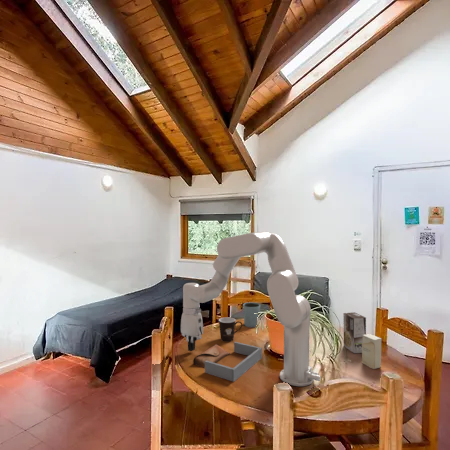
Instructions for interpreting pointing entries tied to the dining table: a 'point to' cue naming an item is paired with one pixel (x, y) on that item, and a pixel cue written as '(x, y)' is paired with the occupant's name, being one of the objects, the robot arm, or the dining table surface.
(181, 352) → the dining table surface
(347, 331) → the coffee box
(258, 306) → the blue-grey cylindrical container
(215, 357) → the sunglasses case
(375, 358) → the skincare box
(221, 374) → the bin
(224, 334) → the coffee mug
